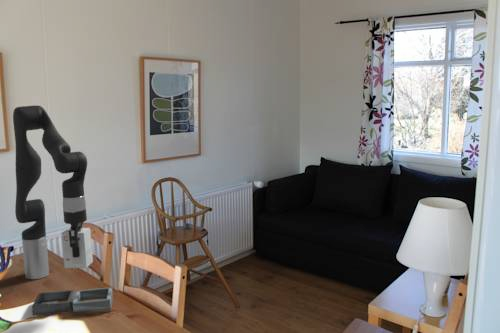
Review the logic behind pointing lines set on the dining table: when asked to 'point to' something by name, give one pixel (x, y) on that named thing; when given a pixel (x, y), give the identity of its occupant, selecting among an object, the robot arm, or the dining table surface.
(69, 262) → the small box
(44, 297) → the socket
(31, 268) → the robot arm
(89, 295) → the frame
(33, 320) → the dining table surface
